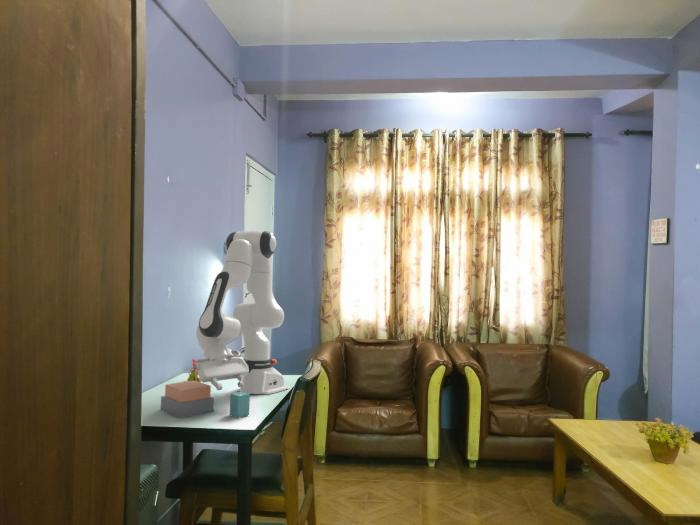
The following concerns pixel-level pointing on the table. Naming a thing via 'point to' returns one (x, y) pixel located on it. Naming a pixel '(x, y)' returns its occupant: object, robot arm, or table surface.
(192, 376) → the bird rattle
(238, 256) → the robot arm
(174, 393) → the brick tower
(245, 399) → the teal brick
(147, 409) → the table surface
